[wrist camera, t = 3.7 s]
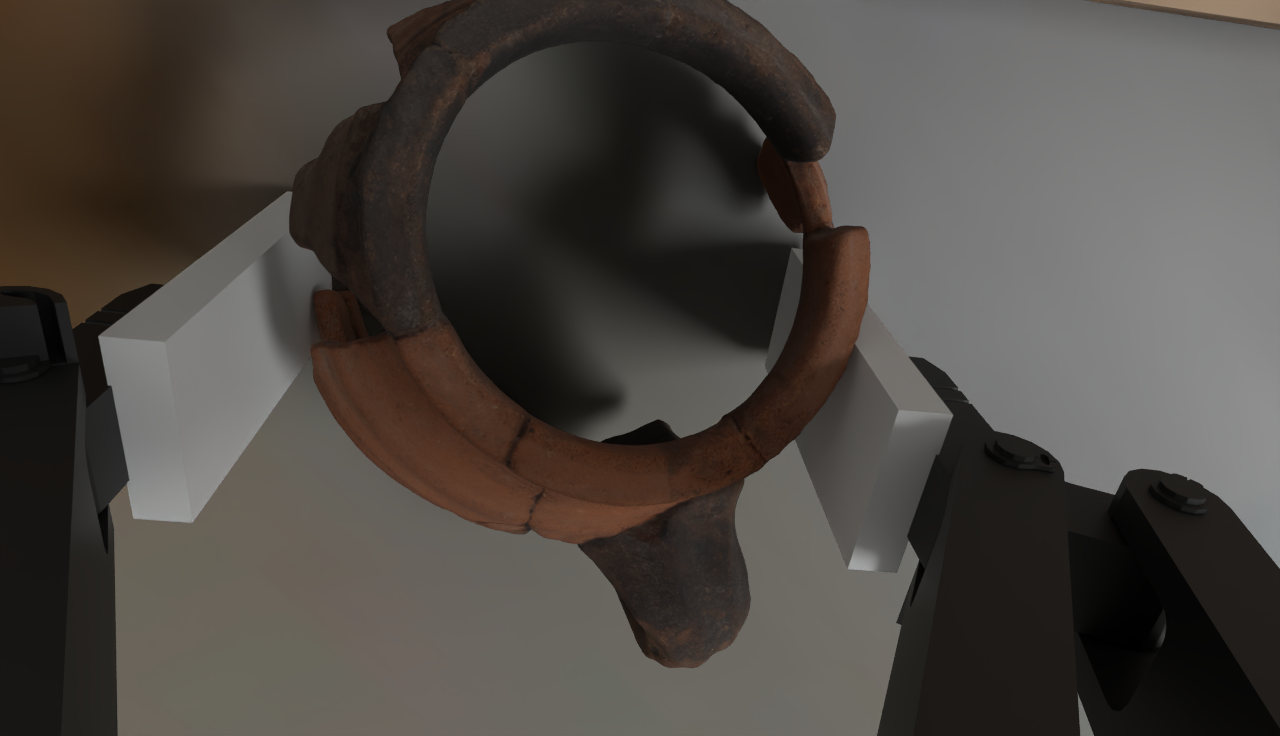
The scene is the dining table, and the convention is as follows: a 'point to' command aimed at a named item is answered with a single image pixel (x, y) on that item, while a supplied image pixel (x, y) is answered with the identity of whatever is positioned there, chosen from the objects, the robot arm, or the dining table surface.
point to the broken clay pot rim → (477, 409)
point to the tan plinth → (1214, 9)
